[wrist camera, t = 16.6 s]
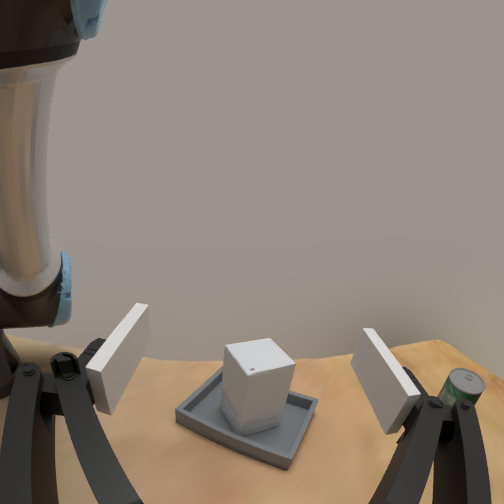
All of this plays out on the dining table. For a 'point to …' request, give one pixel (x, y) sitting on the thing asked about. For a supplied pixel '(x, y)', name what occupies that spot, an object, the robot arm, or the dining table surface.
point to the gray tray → (253, 445)
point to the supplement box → (255, 385)
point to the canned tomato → (461, 386)
